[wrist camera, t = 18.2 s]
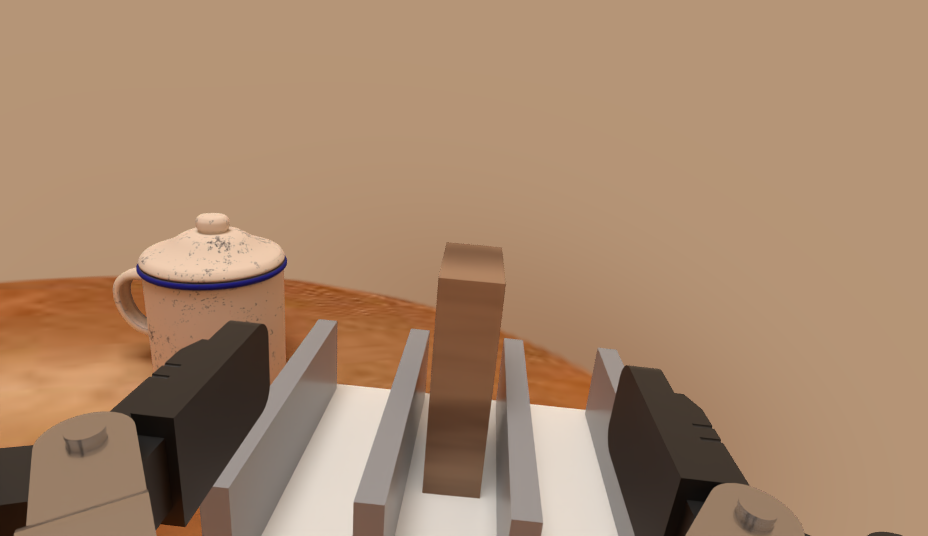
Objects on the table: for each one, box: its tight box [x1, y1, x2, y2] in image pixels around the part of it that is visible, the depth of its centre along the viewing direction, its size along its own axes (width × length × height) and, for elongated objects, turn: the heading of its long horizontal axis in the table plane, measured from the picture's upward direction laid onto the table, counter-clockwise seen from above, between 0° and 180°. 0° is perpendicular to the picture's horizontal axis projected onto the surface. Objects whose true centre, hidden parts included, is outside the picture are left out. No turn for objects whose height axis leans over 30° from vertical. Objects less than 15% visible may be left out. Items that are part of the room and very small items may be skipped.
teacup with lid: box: [113, 213, 287, 385], centre depth 37 cm, size 12×9×12 cm
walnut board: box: [422, 242, 506, 499], centre depth 28 cm, size 6×3×12 cm, turn 178°
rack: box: [200, 319, 635, 536], centre depth 28 cm, size 16×20×6 cm
